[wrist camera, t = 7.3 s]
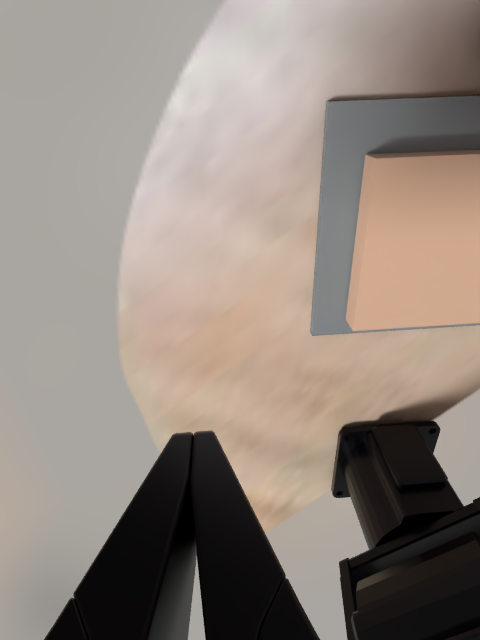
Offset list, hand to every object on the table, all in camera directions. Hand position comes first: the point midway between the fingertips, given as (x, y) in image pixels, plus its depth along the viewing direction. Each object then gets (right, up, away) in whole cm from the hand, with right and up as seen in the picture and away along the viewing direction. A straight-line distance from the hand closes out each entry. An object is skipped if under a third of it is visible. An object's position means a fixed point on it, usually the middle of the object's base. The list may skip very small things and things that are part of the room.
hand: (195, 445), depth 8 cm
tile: (+6, +6, +10) cm, 13 cm away
